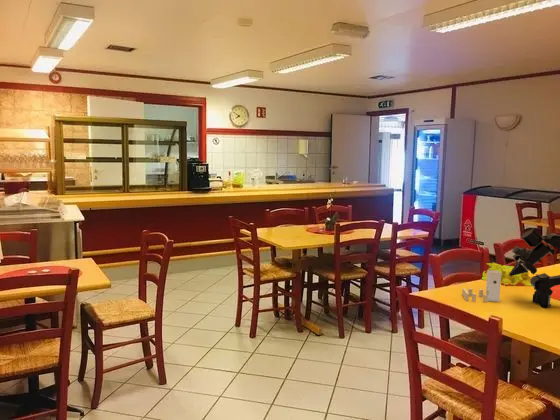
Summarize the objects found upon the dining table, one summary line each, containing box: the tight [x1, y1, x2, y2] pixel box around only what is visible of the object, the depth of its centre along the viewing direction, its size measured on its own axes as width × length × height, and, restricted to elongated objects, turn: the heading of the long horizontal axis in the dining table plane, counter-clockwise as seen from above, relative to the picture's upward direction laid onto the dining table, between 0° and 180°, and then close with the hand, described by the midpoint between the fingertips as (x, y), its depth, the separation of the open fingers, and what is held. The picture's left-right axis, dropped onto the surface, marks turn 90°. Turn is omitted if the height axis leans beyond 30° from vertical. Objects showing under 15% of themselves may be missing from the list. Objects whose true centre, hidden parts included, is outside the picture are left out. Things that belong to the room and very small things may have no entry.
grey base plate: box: [461, 287, 488, 304], centre depth 225 cm, size 17×12×4 cm
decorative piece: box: [481, 262, 533, 287], centre depth 265 cm, size 26×8×30 cm
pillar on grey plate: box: [485, 269, 501, 303], centre depth 223 cm, size 5×5×14 cm
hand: (509, 275), depth 221 cm, fingers closed
